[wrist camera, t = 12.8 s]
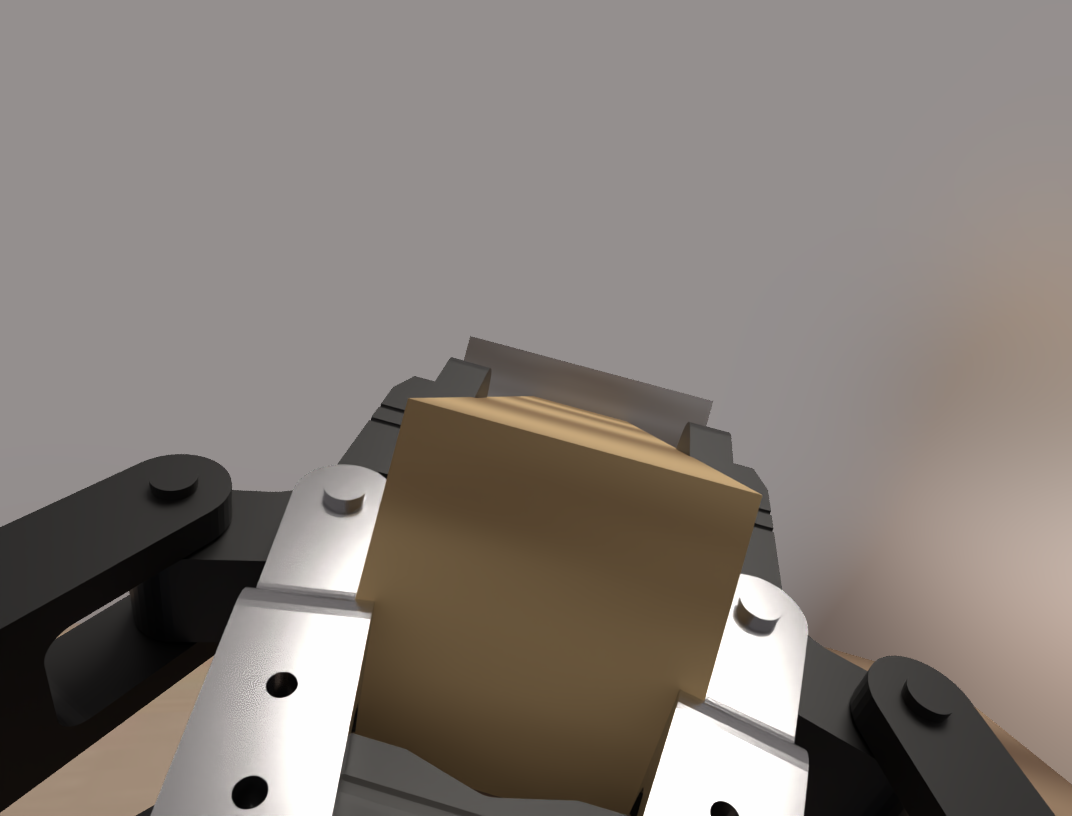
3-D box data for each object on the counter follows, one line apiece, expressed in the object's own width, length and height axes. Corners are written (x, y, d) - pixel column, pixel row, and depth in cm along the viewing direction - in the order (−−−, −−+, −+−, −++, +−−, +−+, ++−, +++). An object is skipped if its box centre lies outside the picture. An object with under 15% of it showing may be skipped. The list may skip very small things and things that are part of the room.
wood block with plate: (948, 932, 7) (1100, 417, 7) (56, 663, 7) (179, 176, 7) (667, 524, 29) (701, 400, 29) (446, 463, 29) (479, 341, 29)
